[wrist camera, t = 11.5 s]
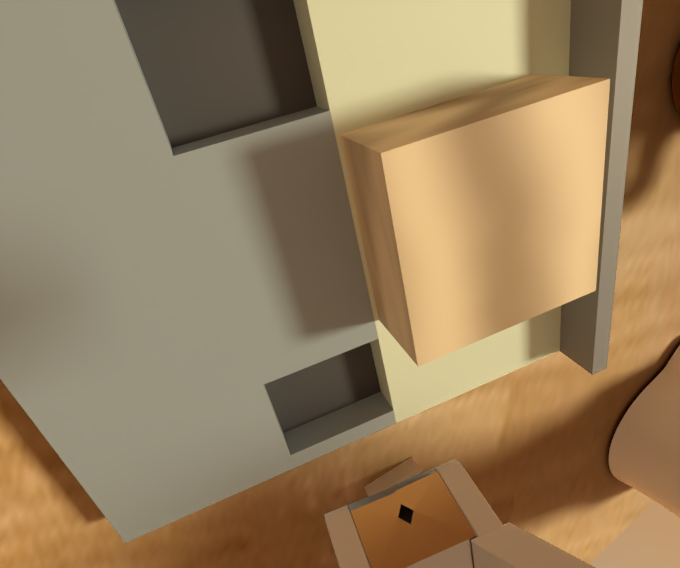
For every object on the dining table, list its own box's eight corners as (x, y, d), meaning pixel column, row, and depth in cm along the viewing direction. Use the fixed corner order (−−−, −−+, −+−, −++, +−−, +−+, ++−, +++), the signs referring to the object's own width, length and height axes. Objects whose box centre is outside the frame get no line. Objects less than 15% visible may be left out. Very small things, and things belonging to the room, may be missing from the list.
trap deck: (558, -129, 19) (660, -175, 15) (549, 328, 30) (606, 367, 26) (-216, 29, 14) (-361, 21, 10) (127, 509, 25) (122, 592, 21)
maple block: (533, 73, 20) (610, 78, 17) (534, 257, 24) (595, 290, 21) (338, 134, 18) (380, 153, 15) (378, 320, 23) (418, 366, 19)
